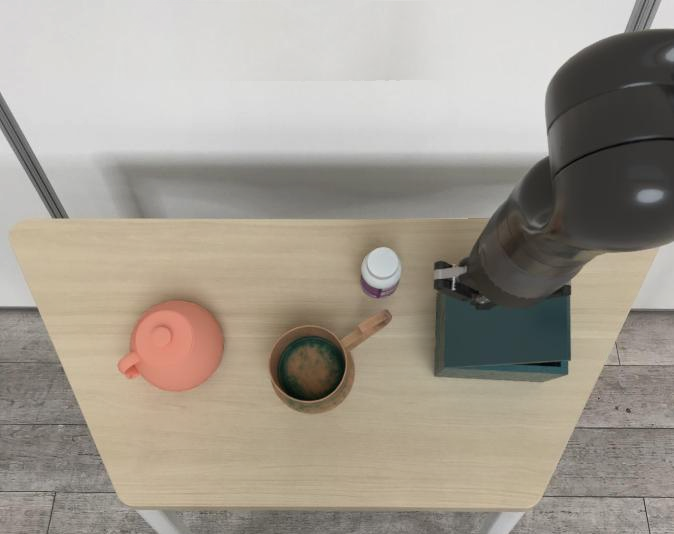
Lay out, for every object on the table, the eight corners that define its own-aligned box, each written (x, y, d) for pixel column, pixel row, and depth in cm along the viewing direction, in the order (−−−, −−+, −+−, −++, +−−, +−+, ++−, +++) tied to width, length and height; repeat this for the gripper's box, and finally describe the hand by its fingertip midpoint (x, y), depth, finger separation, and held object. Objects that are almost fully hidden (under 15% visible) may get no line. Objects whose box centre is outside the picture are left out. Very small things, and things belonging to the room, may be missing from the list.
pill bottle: (385, 307, 86) (389, 290, 76) (353, 288, 86) (353, 269, 77) (405, 275, 86) (412, 255, 77) (373, 256, 87) (375, 234, 77)
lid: (570, 249, 64) (566, 247, 64) (571, 360, 62) (567, 359, 62) (450, 273, 76) (446, 272, 75) (447, 368, 74) (443, 367, 73)
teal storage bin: (543, 298, 85) (567, 279, 76) (543, 382, 83) (568, 374, 74) (436, 293, 86) (447, 274, 76) (434, 376, 84) (445, 368, 74)
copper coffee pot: (407, 363, 84) (417, 350, 72) (297, 429, 83) (288, 428, 71) (364, 293, 86) (366, 270, 74) (255, 357, 85) (240, 344, 73)
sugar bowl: (242, 364, 85) (228, 353, 75) (153, 416, 84) (126, 412, 74) (200, 290, 87) (180, 270, 76) (113, 340, 86) (81, 326, 76)
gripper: (615, 206, 47) (545, 268, 64) (443, 199, 48) (419, 263, 65) (617, 301, 46) (545, 339, 63) (441, 292, 47) (417, 332, 64)
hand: (481, 300), depth 64 cm, fingers closed
